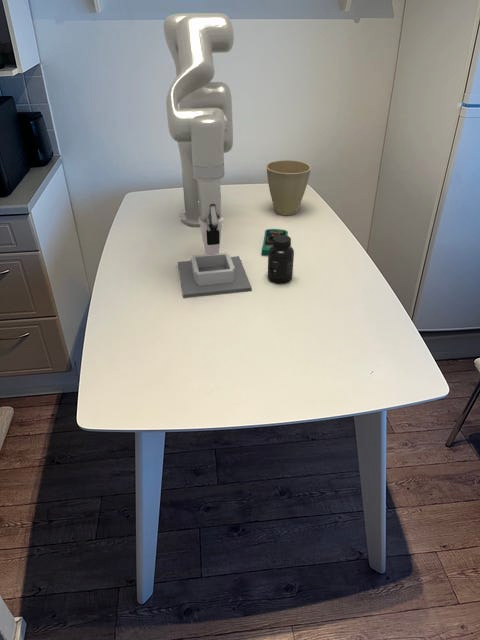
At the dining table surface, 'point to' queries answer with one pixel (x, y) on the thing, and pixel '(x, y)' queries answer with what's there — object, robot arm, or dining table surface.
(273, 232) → the digital multimeter
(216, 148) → the robot arm
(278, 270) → the supplement bottle
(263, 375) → the dining table surface
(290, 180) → the plant pot
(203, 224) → the smoothie
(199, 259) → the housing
